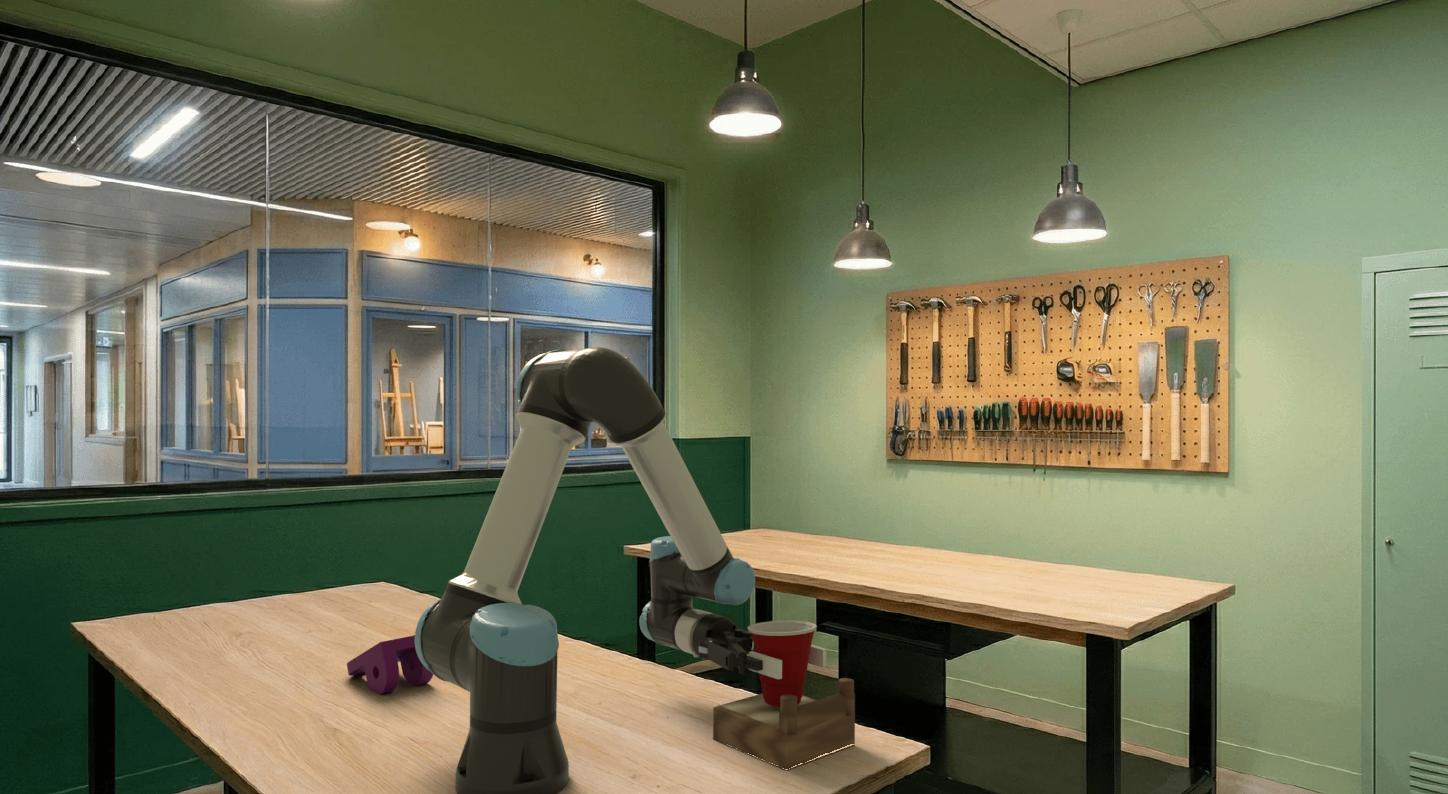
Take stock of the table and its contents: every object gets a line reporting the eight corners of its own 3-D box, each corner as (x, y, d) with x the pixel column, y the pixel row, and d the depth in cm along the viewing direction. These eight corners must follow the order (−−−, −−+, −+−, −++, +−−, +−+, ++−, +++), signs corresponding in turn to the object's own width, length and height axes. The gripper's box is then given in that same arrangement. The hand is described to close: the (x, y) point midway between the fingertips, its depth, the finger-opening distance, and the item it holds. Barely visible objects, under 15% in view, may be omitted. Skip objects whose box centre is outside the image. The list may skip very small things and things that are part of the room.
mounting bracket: (346, 712, 167) (389, 688, 157) (338, 668, 170) (380, 642, 159) (393, 700, 174) (438, 677, 164) (385, 658, 177) (428, 632, 166)
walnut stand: (713, 739, 139) (713, 675, 139) (781, 718, 148) (781, 658, 149) (788, 771, 126) (788, 701, 126) (856, 746, 136) (857, 680, 136)
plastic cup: (785, 686, 146) (785, 613, 146) (830, 704, 137) (831, 625, 137) (732, 698, 139) (733, 621, 139) (776, 717, 130) (777, 635, 131)
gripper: (753, 647, 159) (849, 675, 142) (656, 669, 144) (750, 703, 127) (753, 604, 159) (850, 628, 142) (656, 622, 145) (751, 651, 128)
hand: (802, 664), depth 135 cm, fingers open, 9 cm apart
